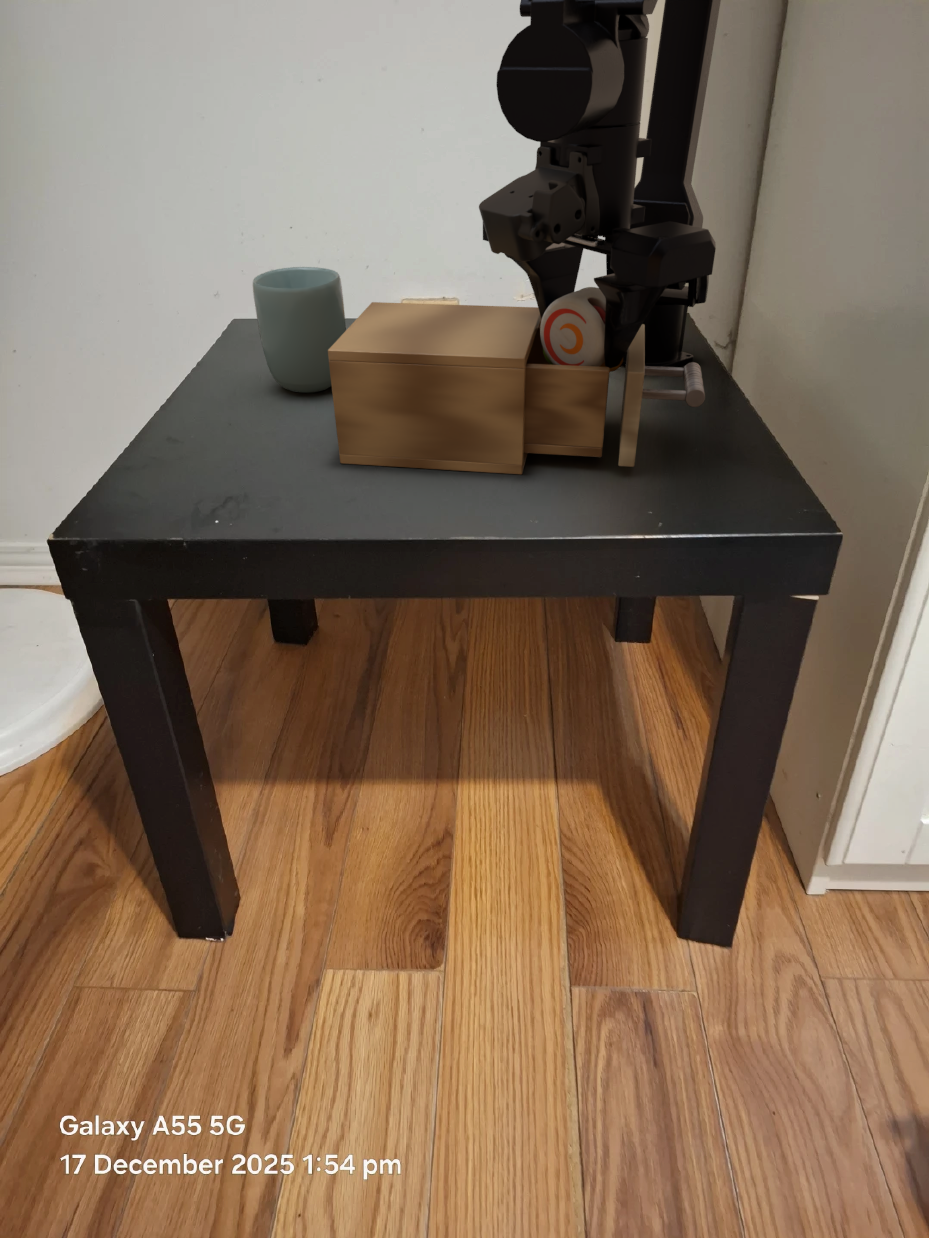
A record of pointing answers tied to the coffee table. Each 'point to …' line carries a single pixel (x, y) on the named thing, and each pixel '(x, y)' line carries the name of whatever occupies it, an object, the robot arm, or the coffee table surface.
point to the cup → (299, 324)
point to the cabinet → (433, 386)
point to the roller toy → (575, 329)
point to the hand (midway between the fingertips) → (582, 355)
